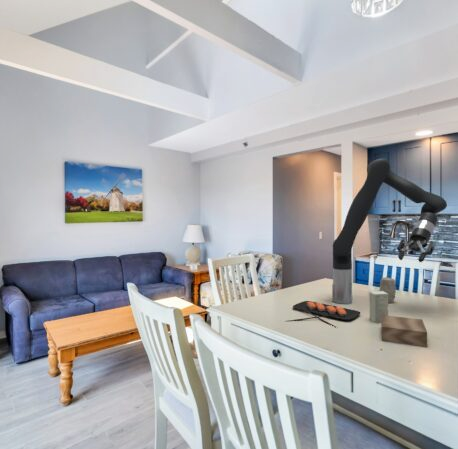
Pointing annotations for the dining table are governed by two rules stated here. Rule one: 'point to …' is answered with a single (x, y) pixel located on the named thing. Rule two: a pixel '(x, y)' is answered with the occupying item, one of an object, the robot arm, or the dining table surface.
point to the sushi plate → (325, 311)
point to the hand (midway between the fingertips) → (409, 259)
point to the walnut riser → (403, 330)
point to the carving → (388, 288)
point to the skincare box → (378, 305)
